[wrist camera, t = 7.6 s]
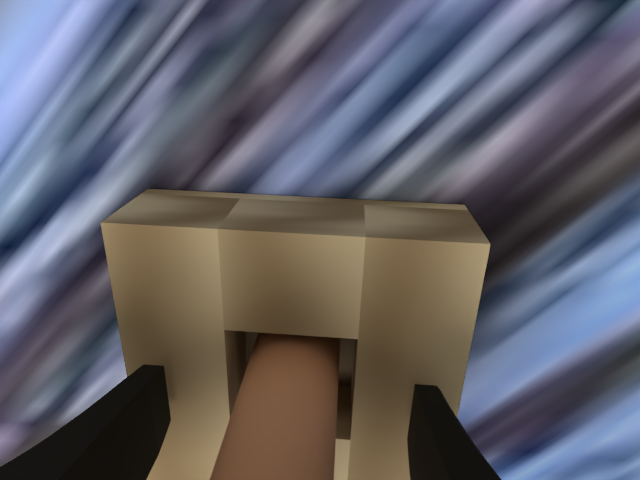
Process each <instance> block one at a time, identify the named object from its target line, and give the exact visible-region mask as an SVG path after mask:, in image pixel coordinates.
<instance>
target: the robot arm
mask: <svg viewBox="0 0 640 480" xmlns="http://www.w3.org/2000/svg"><path fill="white" fill-rule="evenodd" d="M170 422H171V415H170V408H169V400H168V393H167V385H166V377H165V370H164V366H159V365H146V364H143V365H142V366H141V367H139V368H138V369H137V370H136V371H134V372H133V373H132V374H131V375H129V376H128V377H127V378H126V379H124V380H123V381H122V382H121V383H119V384H118V385H117V386H116V387H114V388H113V389H112V390H111V391H109V392H108V393H107V394H106V395H104V396H103V397H102V398H101V399H99V400H98V401H97V402H95V403H94V404H93V405H92V406H90V407H89V408H88V409H86V410H85V411H84V412H83V413H81V414H80V415H78V416H77V417H76V418H74V419H73V420H71V421H70V422H69V423H67V424H66V425H65V426H63V427H62V428H60V429H59V430H58V431H56V432H55V433H53V434H52V435H51V436H49V437H48V438H46V439H45V440H43V441H42V442H40V443H39V444H37V445H36V446H34V447H33V448H31V449H29V450H28V451H26V452H25V453H23V454H21V455H20V456H18V457H16V458H15V459H13V460H12V461H10V462H8V463H7V464H5V465H3V466H1V467H0V480H146V479H147V477H148V475H149V473H150V471H151V469H152V467H153V465H154V463H155V461H156V459H157V457H158V455H159V452H160V450H161V447H162V444H163V442H164V439H165V436H166V433H167V430H168V427H169V425H170ZM407 444H408V459H409V472H410V479H411V480H501V479H500V477H499V476H498V475H497V474H496V472H495V471H494V470H493V468H492V467H491V466H490V465H489V463H488V462H487V461H486V459H485V458H484V457H483V455H482V454H481V452H480V451H479V450H478V448H477V447H476V445H475V444H474V442H473V441H472V440H471V438H470V437H469V435H468V434H467V432H466V431H465V429H464V428H463V426H462V425H461V423H460V422H459V420H458V419H457V417H456V415H455V414H454V412H453V411H452V409H451V407H450V406H449V404H448V402H447V401H446V399H445V397H444V395H443V394H442V392H441V390H440V389H439V388H438V386H435V385H421V384H415V386H414V393H413V400H412V407H411V414H410V422H409V429H408V436H407Z"/></svg>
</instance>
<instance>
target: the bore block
mask: <svg viewBox="0 0 640 480" xmlns="http://www.w3.org/2000/svg"><path fill="white" fill-rule="evenodd" d="M101 228H102V234H103V240H104V246H105V251H106V257H107V263H108V269H109V274H110V280H111V286H112V292H113V297H114V303H115V309H116V315H117V320H118V326H119V332H120V338H121V343H122V349H123V355H124V361H125V366H126V372H127V377H128V376H129V375H131V374H132V373H133V372H134V371H136V370H137V369H138V368H139V367H141V366H142V365H143V364H146V365H159V366H164V370H165V377H166V385H167V393H168V400H169V408H170V415H171V422H170V425H169V427H168V430H167V433H166V436H165V439H164V442H163V444H162V447H161V450H160V452H159V455H158V457H157V459H156V461H155V463H154V465H153V467H152V469H151V471H150V473H149V475H148V477H147V479H146V480H210V477H211V474H212V471H213V468H214V465H215V462H216V459H217V456H218V453H219V450H220V447H221V444H222V441H223V438H224V435H225V432H226V429H227V426H228V423H229V420H230V417H231V414H232V411H233V408H234V404H235V401H236V398H237V395H238V392H239V389H240V386H241V383H242V380H243V377H244V374H245V371H246V368H247V365H248V362H249V359H250V356H251V353H252V350H253V347H254V344H255V341H256V338H257V335H258V332H260V333H274V334H289V335H304V336H319V337H333V338H340V358H339V379H338V400H337V422H336V443H335V464H334V480H411V479H410V472H409V459H408V444H407V436H408V429H409V422H410V414H411V407H412V400H413V393H414V386H415V384H421V385H435V386H438V388H439V389H440V390H441V392H442V394H443V395H444V397H445V399H446V401H447V402H448V404H449V406H450V407H451V409H452V411H453V412H454V414H455V415H456V417H457V415H458V409H459V404H460V399H461V394H462V389H463V384H464V379H465V373H466V368H467V363H468V358H469V353H470V348H471V343H472V337H473V332H474V327H475V322H476V317H477V312H478V307H479V301H480V296H481V291H482V286H483V281H484V276H485V270H486V265H487V260H488V255H489V250H490V245H491V244H490V242H489V241H488V239H487V238H486V236H485V235H484V233H483V232H482V230H481V229H480V227H479V226H478V224H477V223H476V221H475V220H474V218H473V217H472V215H471V214H470V212H469V211H468V209H467V208H466V206H465V205H459V204H439V203H419V202H400V201H380V200H360V199H340V198H321V197H301V196H281V195H262V194H242V193H222V192H203V191H183V190H163V189H147V190H146V191H144V192H143V193H142V194H140V195H139V196H137V197H136V198H135V199H133V200H132V201H130V202H129V203H127V204H126V205H125V206H123V207H122V208H120V209H119V210H118V211H116V212H115V213H113V214H112V215H111V216H109V217H108V218H106V219H105V220H103V221H102V222H101Z"/></svg>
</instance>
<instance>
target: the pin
mask: <svg viewBox="0 0 640 480" xmlns="http://www.w3.org/2000/svg"><path fill="white" fill-rule="evenodd" d="M339 358H340V338H333V337H319V336H304V335H289V334H274V333H260V332H258V335H257V338H256V341H255V344H254V347H253V350H252V353H251V356H250V359H249V362H248V365H247V368H246V371H245V374H244V377H243V380H242V383H241V386H240V389H239V392H238V395H237V398H236V401H235V404H234V408H233V411H232V414H231V417H230V420H229V423H228V426H227V429H226V432H225V435H224V438H223V441H222V444H221V447H220V450H219V453H218V456H217V459H216V462H215V465H214V468H213V471H212V474H211V477H210V480H334V464H335V443H336V422H337V400H338V379H339Z"/></svg>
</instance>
